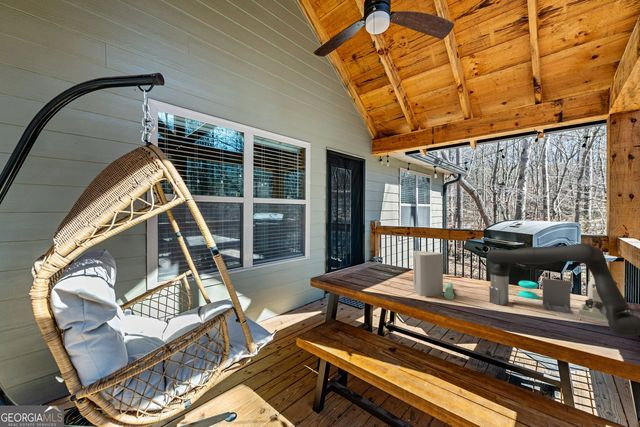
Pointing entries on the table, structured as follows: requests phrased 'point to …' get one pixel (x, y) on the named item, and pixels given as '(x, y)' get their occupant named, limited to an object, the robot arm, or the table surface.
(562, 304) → the printer bay
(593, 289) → the grey tall block
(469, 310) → the table surface
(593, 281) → the milk bottle
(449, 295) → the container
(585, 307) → the waste tray
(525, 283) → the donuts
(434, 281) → the tall grey box
